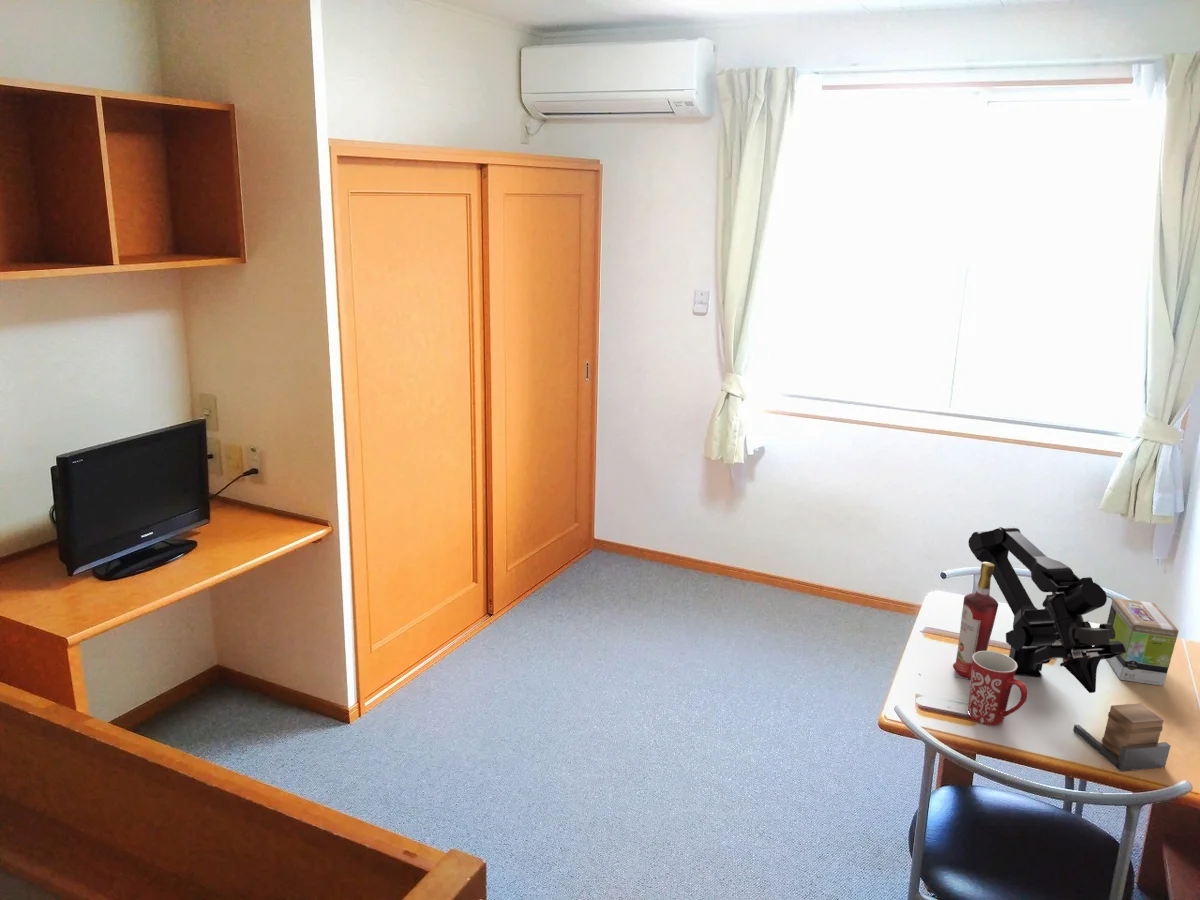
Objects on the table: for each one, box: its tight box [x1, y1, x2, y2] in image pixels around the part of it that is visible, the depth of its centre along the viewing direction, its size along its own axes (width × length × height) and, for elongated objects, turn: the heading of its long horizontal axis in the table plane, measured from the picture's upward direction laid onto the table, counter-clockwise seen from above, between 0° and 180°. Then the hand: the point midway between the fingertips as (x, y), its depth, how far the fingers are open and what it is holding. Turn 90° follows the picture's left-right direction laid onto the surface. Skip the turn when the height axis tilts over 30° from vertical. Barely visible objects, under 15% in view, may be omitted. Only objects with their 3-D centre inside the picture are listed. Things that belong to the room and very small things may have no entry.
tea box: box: [1106, 597, 1179, 686], centre depth 217 cm, size 15×10×15 cm, turn 168°
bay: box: [1073, 724, 1171, 772], centre depth 187 cm, size 14×10×5 cm
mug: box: [967, 650, 1028, 727], centre depth 193 cm, size 13×9×14 cm
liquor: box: [952, 562, 999, 680], centre depth 209 cm, size 7×7×28 cm
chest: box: [1101, 702, 1164, 758], centre depth 184 cm, size 6×7×10 cm
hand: (1092, 692), depth 194 cm, fingers closed
